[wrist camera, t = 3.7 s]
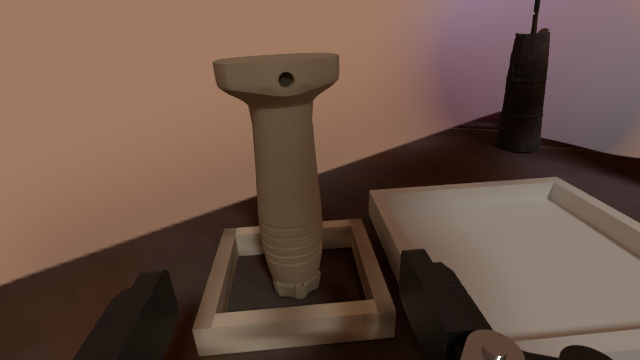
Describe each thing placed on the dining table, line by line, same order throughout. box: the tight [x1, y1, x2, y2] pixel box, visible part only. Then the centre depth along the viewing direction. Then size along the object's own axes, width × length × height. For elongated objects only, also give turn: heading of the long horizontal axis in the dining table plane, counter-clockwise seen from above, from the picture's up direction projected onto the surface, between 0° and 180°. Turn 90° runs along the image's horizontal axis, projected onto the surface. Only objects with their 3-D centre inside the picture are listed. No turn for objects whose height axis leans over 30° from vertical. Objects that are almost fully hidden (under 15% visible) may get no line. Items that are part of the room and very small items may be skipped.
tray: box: [369, 177, 640, 360], centre depth 24 cm, size 18×18×2 cm
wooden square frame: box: [192, 219, 396, 356], centre depth 23 cm, size 11×10×2 cm
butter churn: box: [496, 0, 550, 152], centre depth 43 cm, size 9×10×28 cm
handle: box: [213, 53, 339, 300], centre depth 21 cm, size 5×6×15 cm
